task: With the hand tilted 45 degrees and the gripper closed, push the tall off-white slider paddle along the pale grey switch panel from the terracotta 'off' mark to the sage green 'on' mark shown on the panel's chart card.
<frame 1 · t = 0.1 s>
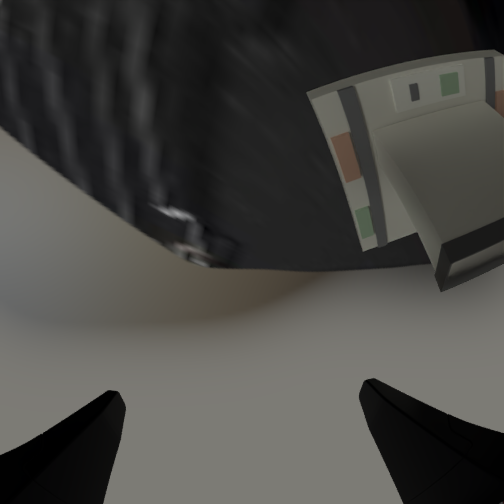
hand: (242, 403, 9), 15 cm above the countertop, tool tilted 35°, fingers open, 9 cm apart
switch slider: (475, 176, 12), point 6 cm above the countertop, slide at 0.0 cm
switch panel: (428, 155, 18), on the countertop
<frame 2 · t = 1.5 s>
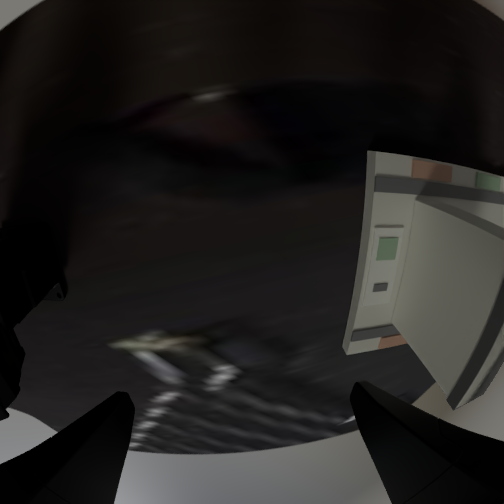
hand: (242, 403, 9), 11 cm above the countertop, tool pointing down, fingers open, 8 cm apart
switch slider: (458, 296, 14), point 6 cm above the countertop, slide at 0.0 cm
switch panel: (439, 256, 20), on the countertop
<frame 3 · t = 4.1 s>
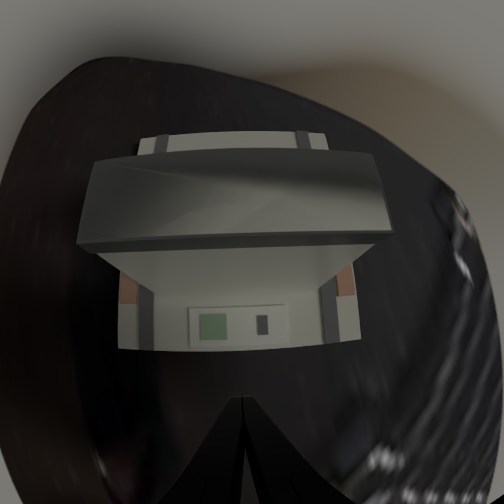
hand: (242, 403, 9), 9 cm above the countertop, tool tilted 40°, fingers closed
switch slider: (235, 244, 13), point 6 cm above the countertop, slide at 0.0 cm
switch panel: (234, 229, 20), on the countertop
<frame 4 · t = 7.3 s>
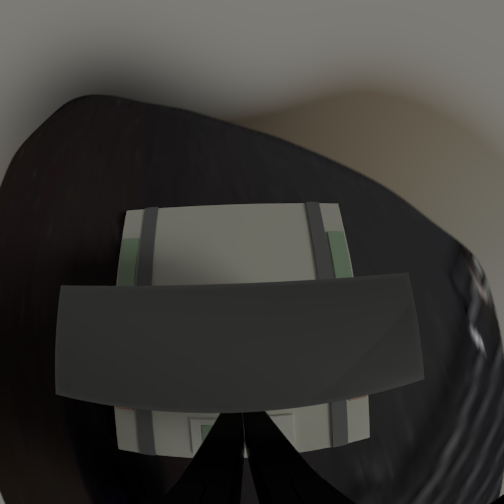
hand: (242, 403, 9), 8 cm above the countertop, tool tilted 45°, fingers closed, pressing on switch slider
switch slider: (237, 356, 11), point 6 cm above the countertop, slide at 1.4 cm, touching gripper
switch panel: (236, 327, 17), on the countertop
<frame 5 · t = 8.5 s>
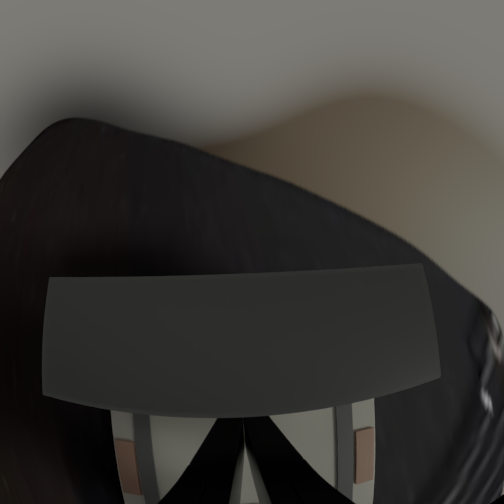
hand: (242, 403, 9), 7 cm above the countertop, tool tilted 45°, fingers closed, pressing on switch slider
switch slider: (238, 355, 10), point 6 cm above the countertop, slide at 7.5 cm, touching gripper
switch panel: (242, 420, 14), on the countertop
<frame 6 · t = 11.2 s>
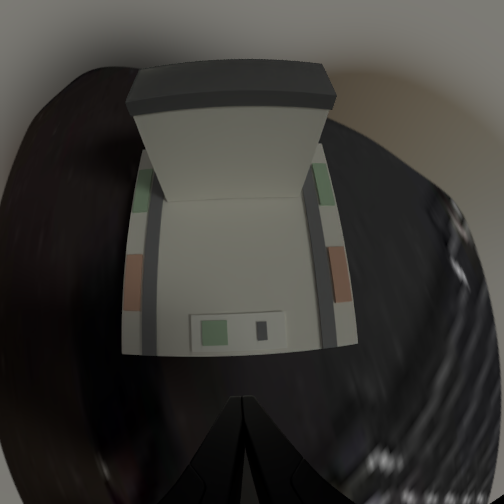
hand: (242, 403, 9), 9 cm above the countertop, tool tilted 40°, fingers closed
switch slider: (231, 137, 16), point 6 cm above the countertop, slide at 7.7 cm
switch panel: (234, 238, 21), on the countertop
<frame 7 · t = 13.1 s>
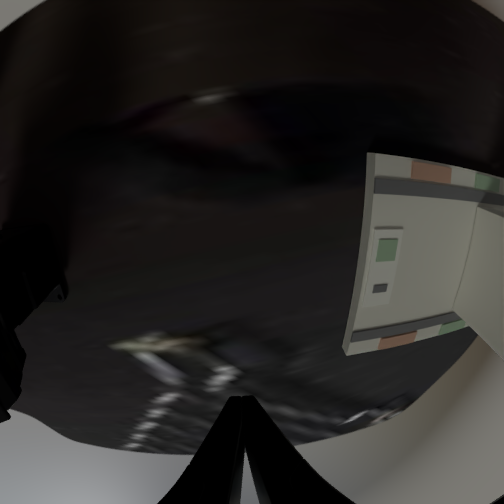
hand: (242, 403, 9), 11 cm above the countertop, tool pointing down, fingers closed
switch panel: (439, 257, 20), on the countertop
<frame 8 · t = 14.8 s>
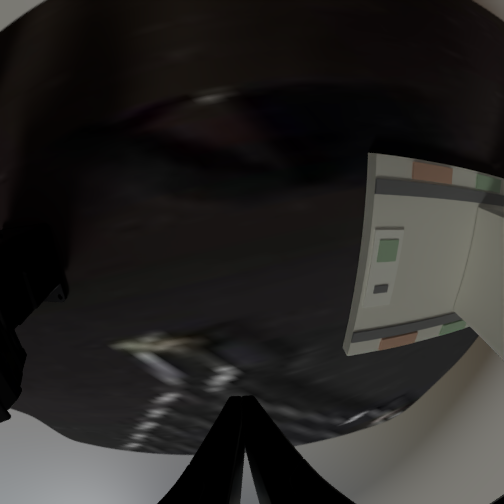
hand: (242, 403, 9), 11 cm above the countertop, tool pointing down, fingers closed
switch panel: (440, 258, 20), on the countertop
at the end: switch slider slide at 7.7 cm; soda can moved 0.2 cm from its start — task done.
